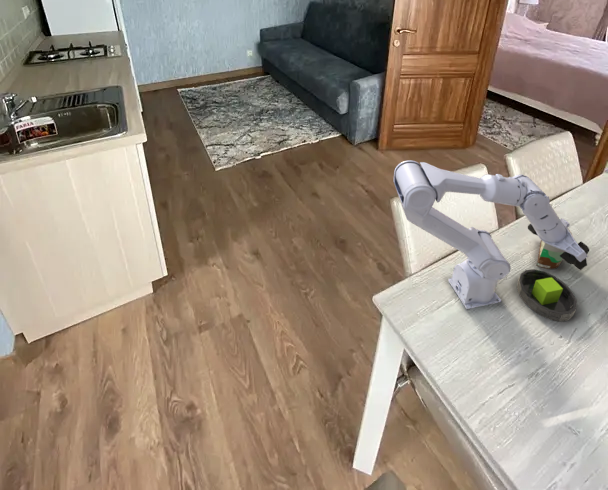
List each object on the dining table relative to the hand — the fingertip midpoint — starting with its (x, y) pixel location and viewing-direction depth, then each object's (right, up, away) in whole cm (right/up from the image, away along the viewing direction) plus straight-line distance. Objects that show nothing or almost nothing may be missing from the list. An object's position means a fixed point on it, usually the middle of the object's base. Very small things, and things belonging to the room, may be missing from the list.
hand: (567, 254), depth 82 cm
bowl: (-4, -12, +3) cm, 13 cm away
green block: (-4, -12, +3) cm, 13 cm away
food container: (+5, -8, +13) cm, 16 cm away
